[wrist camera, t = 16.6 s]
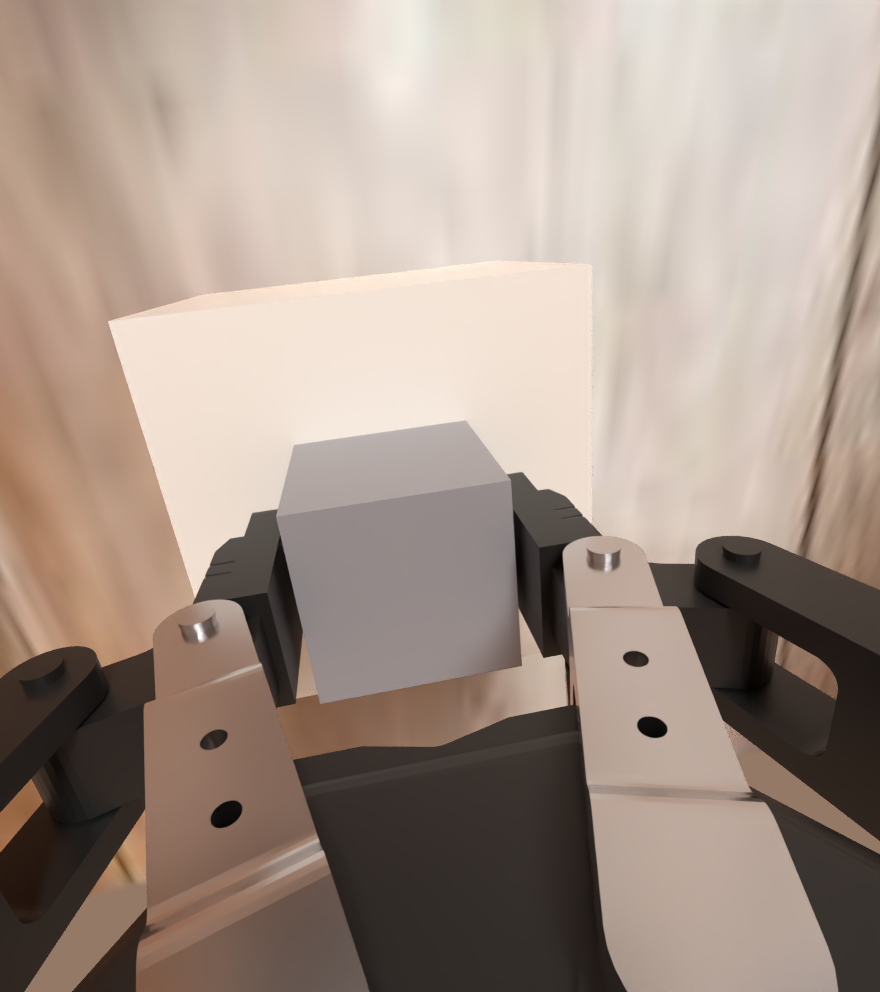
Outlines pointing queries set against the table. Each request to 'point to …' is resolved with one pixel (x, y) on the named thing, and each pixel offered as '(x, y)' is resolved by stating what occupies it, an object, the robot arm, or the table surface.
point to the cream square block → (374, 450)
